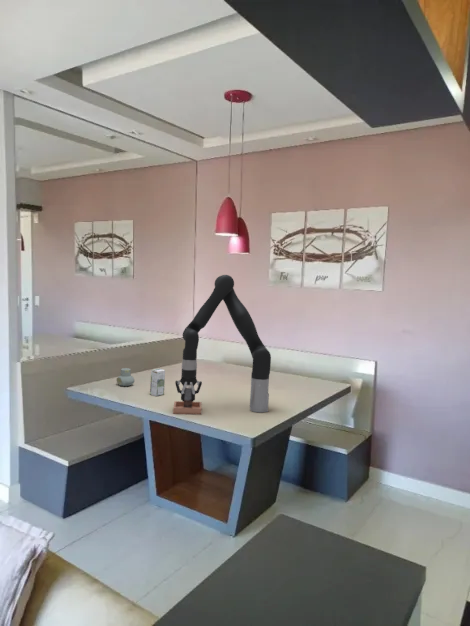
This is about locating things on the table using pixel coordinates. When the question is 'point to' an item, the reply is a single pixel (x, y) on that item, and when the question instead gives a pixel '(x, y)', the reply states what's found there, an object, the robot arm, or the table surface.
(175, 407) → the tray
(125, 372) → the air freshener
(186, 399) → the shaker
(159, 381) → the syrup box
